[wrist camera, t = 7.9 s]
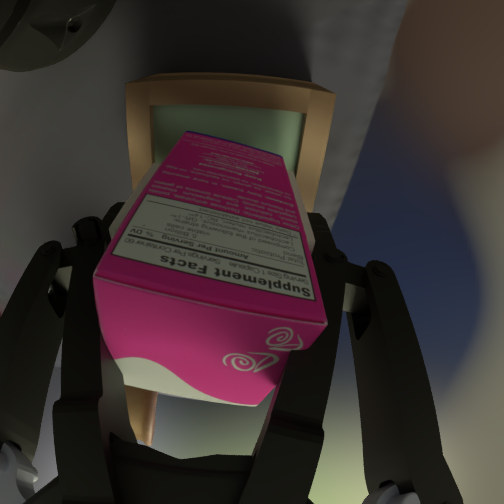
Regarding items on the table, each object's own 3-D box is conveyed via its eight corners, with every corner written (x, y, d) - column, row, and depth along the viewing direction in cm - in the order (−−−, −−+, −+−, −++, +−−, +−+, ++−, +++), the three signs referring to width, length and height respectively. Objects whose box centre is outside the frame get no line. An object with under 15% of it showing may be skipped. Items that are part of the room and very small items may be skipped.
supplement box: (256, 235, 19) (256, 412, 10) (167, 212, 18) (102, 380, 9) (288, 154, 15) (334, 331, 6) (184, 126, 14) (74, 271, 5)
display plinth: (158, 73, 18) (125, 83, 13) (312, 82, 19) (336, 94, 14) (162, 201, 26) (141, 246, 21) (290, 209, 27) (300, 256, 21)
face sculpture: (123, 282, 33) (81, 407, 20) (176, 294, 34) (151, 426, 21) (130, 357, 45) (112, 443, 32) (167, 366, 46) (155, 454, 33)
